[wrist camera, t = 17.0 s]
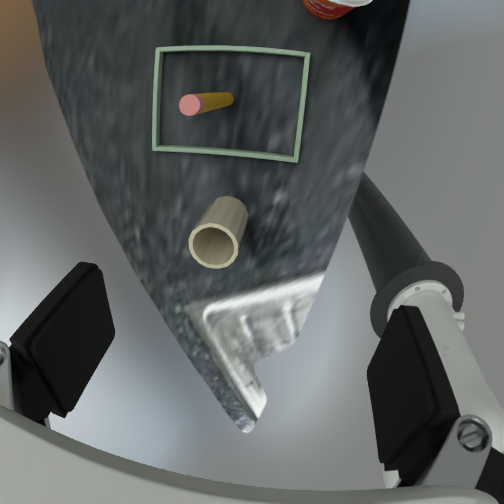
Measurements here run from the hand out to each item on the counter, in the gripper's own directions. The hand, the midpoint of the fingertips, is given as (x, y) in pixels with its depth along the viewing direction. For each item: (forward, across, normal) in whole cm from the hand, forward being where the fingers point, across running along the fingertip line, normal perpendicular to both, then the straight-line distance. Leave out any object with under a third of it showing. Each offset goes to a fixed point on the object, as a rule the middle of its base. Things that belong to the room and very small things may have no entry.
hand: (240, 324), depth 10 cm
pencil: (+34, +7, -5) cm, 35 cm away
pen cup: (+34, +6, +11) cm, 37 cm away
